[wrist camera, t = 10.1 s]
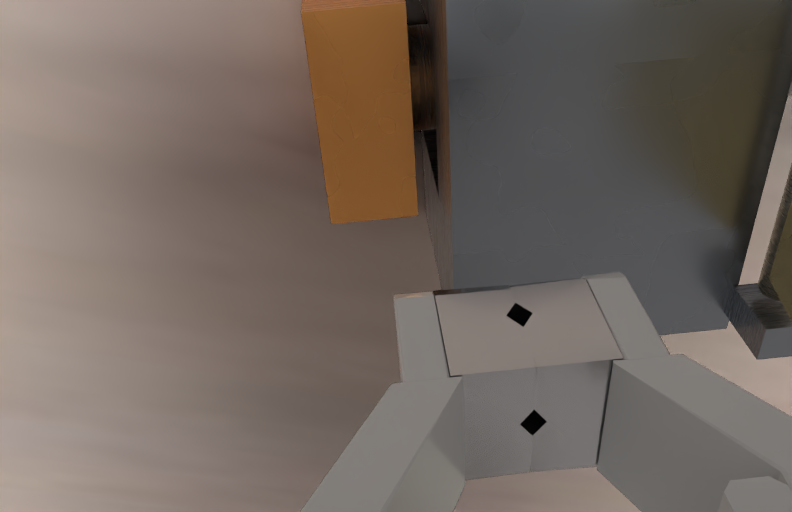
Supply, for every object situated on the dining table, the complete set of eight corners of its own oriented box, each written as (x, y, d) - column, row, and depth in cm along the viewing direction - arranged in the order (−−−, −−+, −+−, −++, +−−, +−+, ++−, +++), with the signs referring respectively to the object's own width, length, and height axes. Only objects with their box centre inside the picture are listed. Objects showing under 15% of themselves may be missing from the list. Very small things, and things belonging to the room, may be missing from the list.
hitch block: (670, 187, 21) (810, 368, 15) (425, 211, 21) (464, 403, 15) (735, -175, 16) (991, -127, 10) (407, -147, 15) (456, -79, 9)
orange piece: (773, 113, 20) (846, 174, 17) (330, 155, 19) (331, 224, 16) (821, -78, 17) (919, -44, 14) (306, -33, 16) (300, 12, 14)
